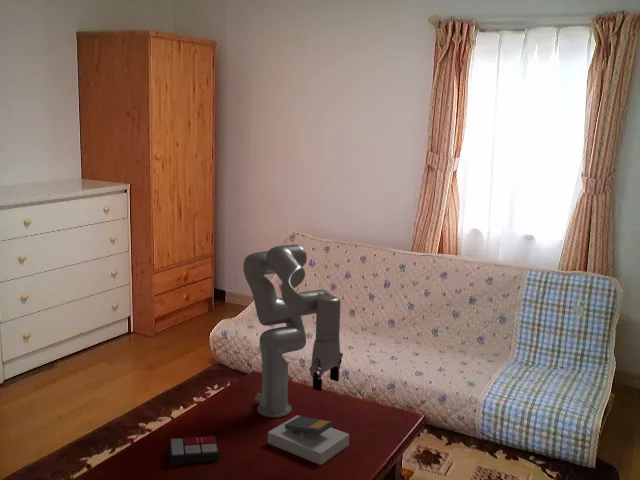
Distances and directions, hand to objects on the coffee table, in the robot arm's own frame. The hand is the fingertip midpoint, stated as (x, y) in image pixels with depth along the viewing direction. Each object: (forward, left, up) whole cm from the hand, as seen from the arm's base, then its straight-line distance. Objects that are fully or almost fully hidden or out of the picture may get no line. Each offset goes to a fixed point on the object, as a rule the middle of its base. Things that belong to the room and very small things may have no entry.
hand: (325, 384), depth 205 cm
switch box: (-6, -1, -23) cm, 23 cm away
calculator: (-31, -29, -23) cm, 48 cm away
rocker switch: (-6, -1, -16) cm, 17 cm away
